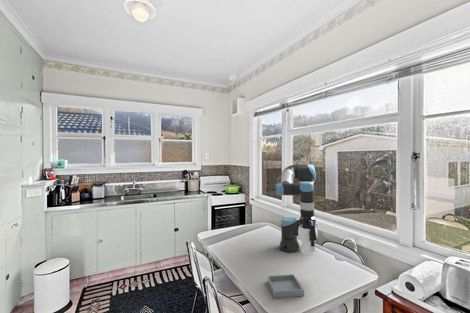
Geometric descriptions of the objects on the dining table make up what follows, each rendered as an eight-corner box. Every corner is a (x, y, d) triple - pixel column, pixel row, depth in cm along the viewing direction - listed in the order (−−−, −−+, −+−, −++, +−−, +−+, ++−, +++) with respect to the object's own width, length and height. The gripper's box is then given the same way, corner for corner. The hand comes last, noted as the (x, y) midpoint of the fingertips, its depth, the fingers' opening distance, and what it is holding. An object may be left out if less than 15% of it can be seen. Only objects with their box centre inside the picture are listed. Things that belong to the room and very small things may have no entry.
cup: (313, 248, 135) (313, 223, 135) (321, 256, 125) (320, 229, 125) (296, 249, 135) (295, 224, 135) (302, 257, 124) (301, 229, 124)
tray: (267, 281, 130) (267, 275, 130) (293, 279, 131) (293, 274, 131) (274, 298, 114) (274, 291, 114) (304, 295, 115) (303, 289, 115)
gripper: (294, 205, 141) (294, 240, 141) (308, 214, 118) (309, 256, 118) (305, 204, 141) (306, 239, 142) (322, 214, 118) (323, 256, 119)
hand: (308, 247), depth 130 cm, fingers closed on cup, 11 cm apart
